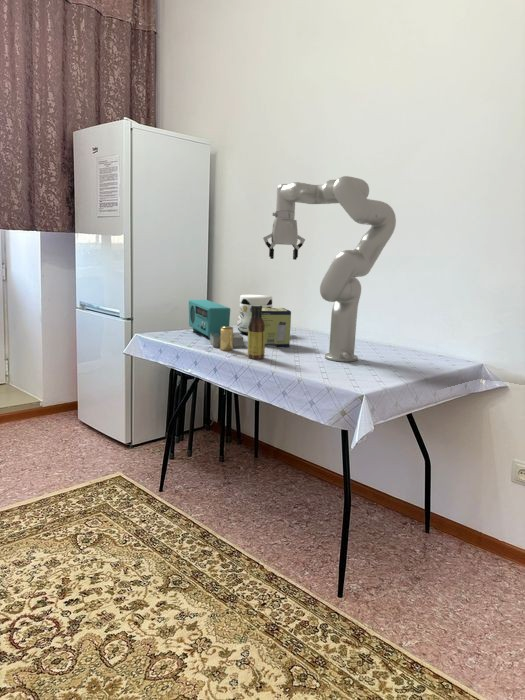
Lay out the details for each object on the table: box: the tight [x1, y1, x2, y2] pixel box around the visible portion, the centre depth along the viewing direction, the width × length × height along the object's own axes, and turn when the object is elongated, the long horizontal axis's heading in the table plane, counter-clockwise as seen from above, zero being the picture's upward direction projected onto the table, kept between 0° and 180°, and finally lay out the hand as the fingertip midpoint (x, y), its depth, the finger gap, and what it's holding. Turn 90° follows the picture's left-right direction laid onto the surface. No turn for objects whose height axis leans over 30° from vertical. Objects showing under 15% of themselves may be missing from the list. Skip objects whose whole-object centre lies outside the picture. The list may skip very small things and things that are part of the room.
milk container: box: [236, 294, 273, 335], centre depth 255 cm, size 17×17×18 cm
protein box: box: [250, 307, 292, 348], centre depth 225 cm, size 10×16×16 cm
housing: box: [209, 332, 244, 349], centre depth 219 cm, size 12×12×5 cm
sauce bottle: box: [247, 305, 266, 360], centre depth 198 cm, size 7×6×20 cm
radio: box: [188, 299, 231, 340], centre depth 243 cm, size 34×10×15 cm, turn 23°
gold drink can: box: [219, 325, 234, 352], centre depth 207 cm, size 5×5×10 cm
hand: (283, 259), depth 219 cm, fingers open, 9 cm apart
